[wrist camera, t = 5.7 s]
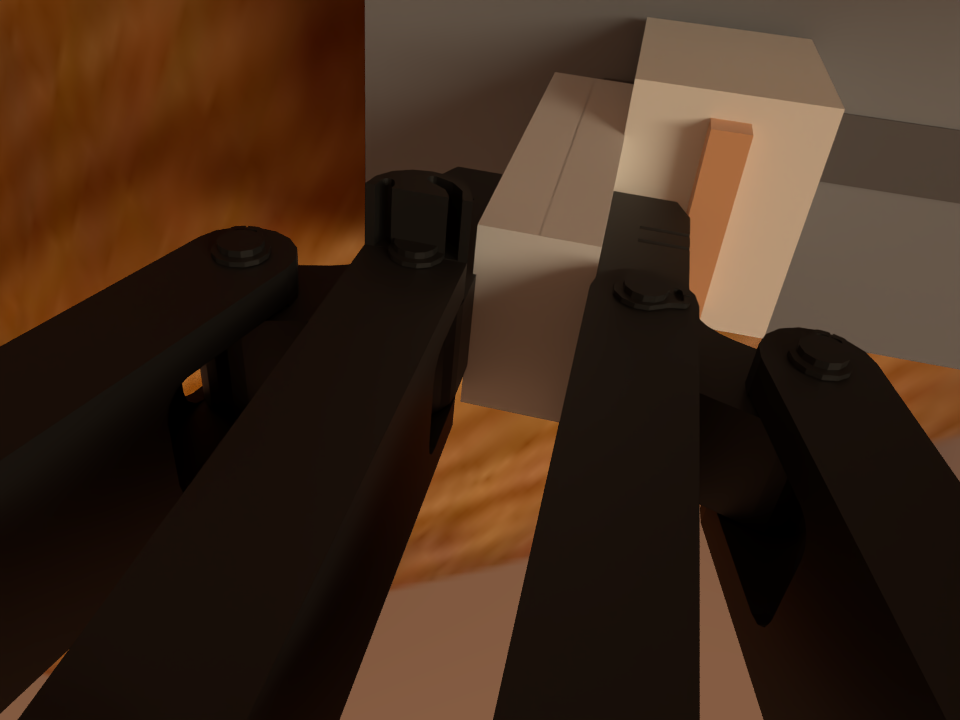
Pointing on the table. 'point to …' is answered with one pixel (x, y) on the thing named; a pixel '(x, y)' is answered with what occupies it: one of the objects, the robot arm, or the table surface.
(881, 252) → the switch unit
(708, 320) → the knob
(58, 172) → the table surface
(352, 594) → the robot arm
